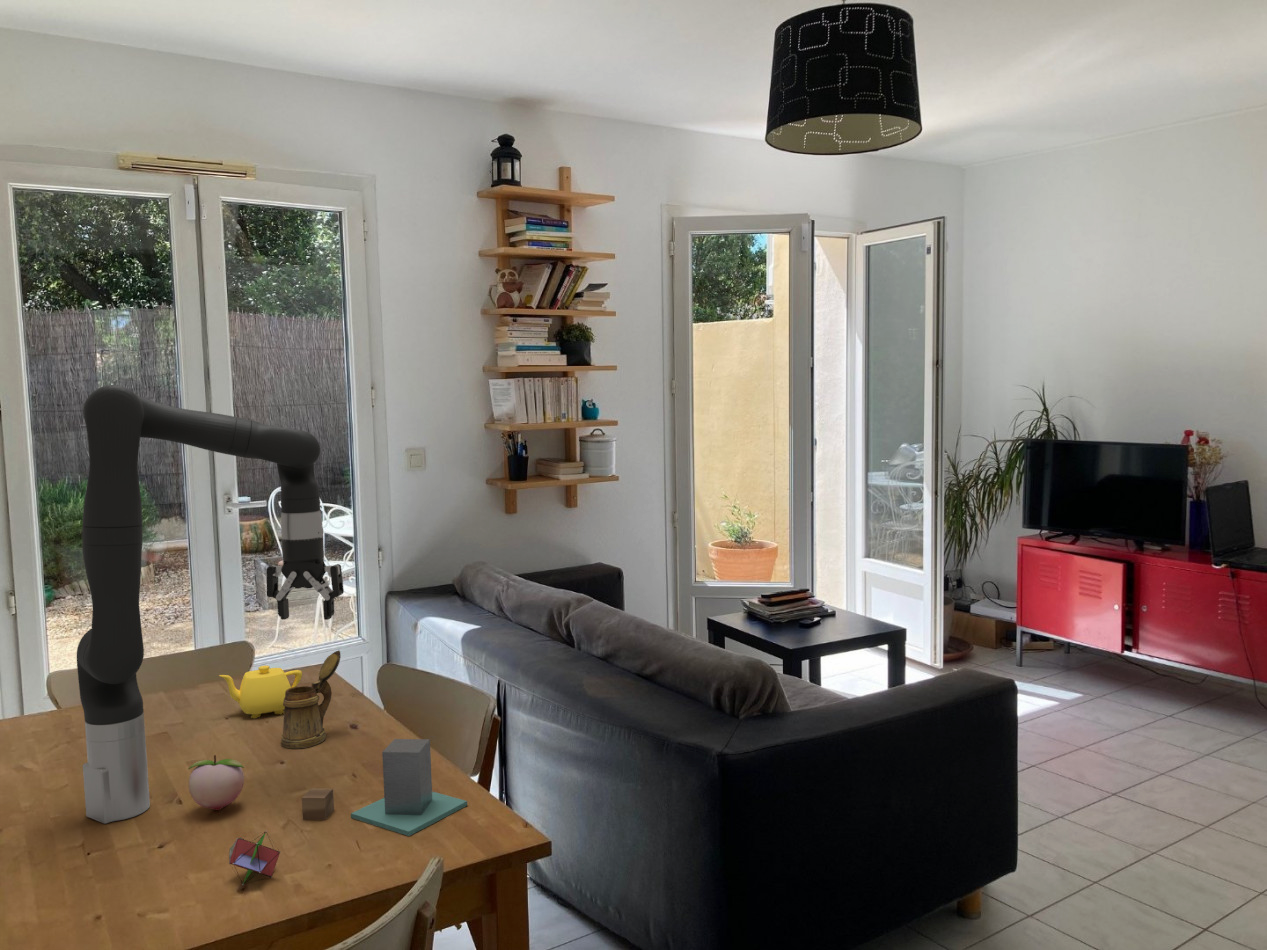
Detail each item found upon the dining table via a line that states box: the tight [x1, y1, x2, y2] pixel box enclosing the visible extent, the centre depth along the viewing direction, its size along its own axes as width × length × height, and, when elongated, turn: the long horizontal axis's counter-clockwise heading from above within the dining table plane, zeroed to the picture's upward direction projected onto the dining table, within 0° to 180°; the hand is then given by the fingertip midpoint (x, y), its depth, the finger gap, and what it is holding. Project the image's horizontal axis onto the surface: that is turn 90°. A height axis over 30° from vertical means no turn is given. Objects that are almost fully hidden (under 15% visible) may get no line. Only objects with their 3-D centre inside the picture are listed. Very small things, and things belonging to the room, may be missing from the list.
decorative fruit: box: [187, 754, 245, 811], centre depth 175 cm, size 9×8×10 cm
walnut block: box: [301, 787, 335, 821], centre depth 173 cm, size 4×4×4 cm
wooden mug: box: [280, 650, 342, 750], centre depth 211 cm, size 9×14×18 cm, turn 128°
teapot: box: [218, 665, 303, 719], centre depth 230 cm, size 18×11×11 cm, turn 116°
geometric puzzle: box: [228, 830, 281, 886], centre depth 151 cm, size 7×7×8 cm
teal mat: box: [350, 790, 468, 837], centre depth 174 cm, size 14×14×1 cm
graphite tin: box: [381, 738, 433, 815], centre depth 173 cm, size 6×6×11 cm
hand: (306, 618), depth 191 cm, fingers open, 8 cm apart
